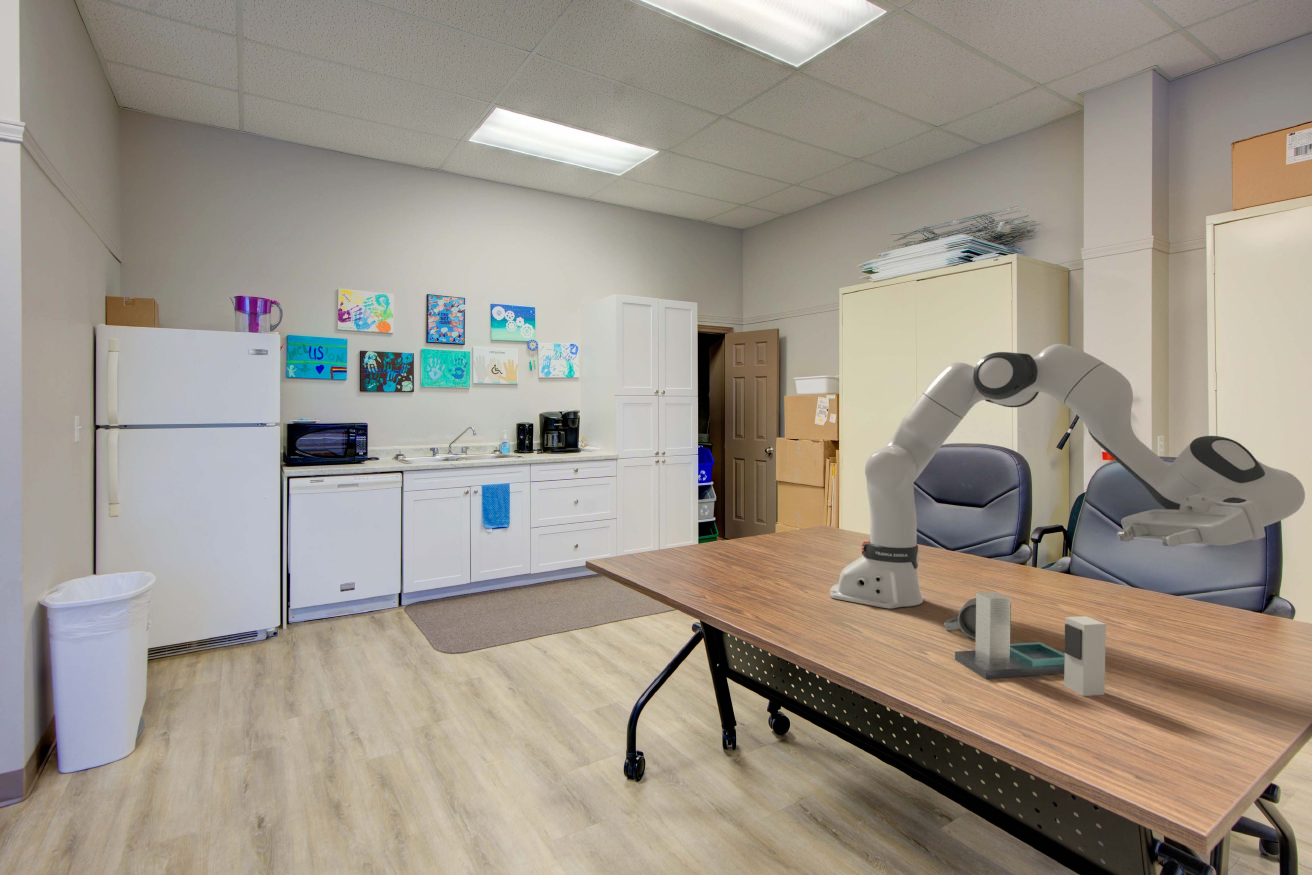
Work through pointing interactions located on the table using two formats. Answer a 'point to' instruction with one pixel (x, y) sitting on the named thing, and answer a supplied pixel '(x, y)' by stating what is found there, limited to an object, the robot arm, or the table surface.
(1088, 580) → the table surface
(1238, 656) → the table surface
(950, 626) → the ceramic mug
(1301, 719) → the table surface
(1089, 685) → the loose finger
